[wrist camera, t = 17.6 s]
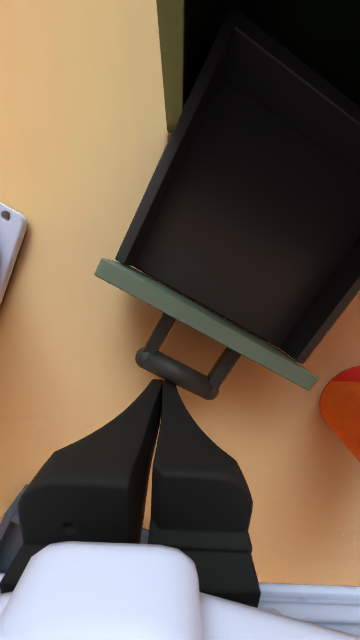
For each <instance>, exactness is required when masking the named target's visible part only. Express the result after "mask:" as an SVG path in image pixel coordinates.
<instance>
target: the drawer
mask: <svg viewBox="0 0 360 640" xmlns="http://www.w3.org/2000/svg"><path fill="white" fill-rule="evenodd" d="M115 259H116V260H117V261H119V262H117V261H113V260H108V259H104V258H101V260H100V263H99V265H98V267H97V270H96V272H95V276H97V277H99V278H101V279H103V280H104V281H106V282H108V283H110V284H112V285H114V286H116V287H117V288H119V289H121V290H123V291H125V292H127V293H128V294H130V295H132V296H134V297H136V298H138V299H140V300H141V301H143V302H145V303H147V304H149V305H151V306H153V307H154V308H156V309H158V310H160V311H162V312H164V313H163V315H162V316H161V318H160V320H159V322H158V324H157V326H156V327H155V329H154V331H153V333H152V335H151V337H150V338H149V340H148V342H147V344H146V346H145V347H142V348H140V349H139V350H138V351H137V353H136V356H135V360H136V363H137V365H138V366H139V367H141V368H143V369H145V370H147V371H149V372H151V373H153V374H155V375H157V376H159V377H161V378H163V379H165V380H167V381H169V382H171V383H173V384H175V385H177V386H179V387H181V388H183V389H185V390H187V391H190V392H192V393H194V394H196V395H198V396H200V397H202V398H204V399H206V400H212V399H214V398H215V397H216V396H217V395H218V393H219V387H220V385H221V384H222V382H223V381H224V379H225V378H226V376H227V375H228V373H229V372H230V371H231V369H232V368H233V366H234V365H235V363H236V362H237V360H238V359H239V357H240V356H241V355H243V356H245V357H247V358H249V359H251V360H253V361H254V362H256V363H258V364H260V365H262V366H264V367H265V368H267V369H269V370H271V371H273V372H275V373H277V374H278V375H280V376H282V377H284V378H286V379H288V380H290V381H291V382H293V383H295V384H297V385H299V386H301V387H303V388H304V389H306V390H308V391H309V390H310V389H311V388H312V387H313V386H314V384H315V383H316V382H317V381H318V379H319V378H318V377H317V376H315V375H314V374H313V373H311V372H310V371H309V370H307V369H306V368H304V367H303V366H302V365H300V364H299V363H298V362H300V363H302V364H303V363H304V362H305V361H306V359H307V358H308V357H309V356H310V354H311V353H312V352H313V350H314V349H315V348H316V346H317V345H318V344H319V343H320V341H321V340H322V339H323V337H324V336H325V335H326V333H327V332H328V331H329V330H330V328H331V327H332V326H333V324H334V323H335V322H336V320H337V319H338V318H339V316H340V315H341V314H342V313H343V311H344V310H345V309H346V307H347V306H348V305H349V303H350V302H351V301H352V300H353V298H354V297H355V296H356V294H357V293H358V292H359V290H360V106H359V105H357V104H356V103H355V102H353V101H352V100H351V99H350V98H348V97H347V96H346V95H345V94H343V93H342V92H341V91H340V90H338V89H337V88H336V87H335V86H333V85H332V84H331V83H329V82H328V81H327V80H326V79H324V78H323V77H322V76H321V75H319V74H318V73H317V72H316V71H314V70H313V69H312V68H311V67H309V66H308V65H307V64H305V63H304V62H303V61H302V60H300V59H299V58H298V57H297V56H295V55H294V54H293V53H292V52H290V51H289V50H288V49H287V48H285V47H284V46H283V45H281V44H280V43H279V42H278V41H276V40H275V39H274V38H273V37H271V36H270V35H269V34H268V33H266V32H265V31H264V30H262V29H261V28H260V27H259V26H257V25H256V24H255V23H254V22H252V21H251V20H250V19H249V18H247V17H246V16H245V15H244V14H242V13H241V12H240V11H238V10H237V9H236V8H235V7H233V6H232V5H231V6H230V7H229V10H228V12H227V14H226V16H225V18H224V21H223V23H222V25H221V27H220V29H219V32H218V34H217V36H216V38H215V40H214V43H213V45H212V47H211V49H210V51H209V54H208V56H207V58H206V60H205V62H204V65H203V67H202V69H201V71H200V73H199V76H198V78H197V80H196V82H195V84H194V87H193V89H192V91H191V93H190V95H189V97H188V100H187V102H186V104H185V106H184V108H183V111H182V113H181V115H180V117H179V119H178V122H177V124H176V126H175V128H174V130H173V133H172V135H171V137H170V139H169V141H168V144H167V146H166V148H165V150H164V152H163V155H162V157H161V159H160V161H159V163H158V166H157V168H156V170H155V172H154V174H153V177H152V179H151V181H150V183H149V185H148V188H147V190H146V192H145V194H144V196H143V199H142V201H141V203H140V205H139V207H138V209H137V212H136V214H135V216H134V218H133V220H132V223H131V225H130V227H129V229H128V231H127V234H126V236H125V238H124V240H123V242H122V245H121V247H120V249H119V251H118V253H117V256H116V258H115ZM129 265H130V266H129ZM131 266H133V267H135V268H137V269H139V270H141V271H142V272H144V273H146V274H148V275H150V276H151V277H153V278H155V279H157V280H158V281H160V282H162V283H164V284H166V285H167V286H169V287H171V288H173V289H174V290H176V291H178V292H180V293H182V294H183V295H185V296H187V297H189V298H191V299H192V300H194V301H196V302H198V303H199V304H201V305H203V306H205V307H207V308H208V309H210V310H212V311H214V312H216V313H217V314H219V315H221V316H223V317H224V318H226V319H228V320H230V321H232V322H233V323H235V324H237V325H239V326H241V327H242V328H244V329H246V330H248V331H249V332H251V333H253V334H255V335H257V336H258V337H260V338H262V339H264V340H266V341H267V342H269V343H271V344H273V345H274V346H276V347H278V348H280V349H281V350H282V351H284V352H285V353H286V354H285V353H284V352H282V351H281V350H279V349H277V348H276V347H274V346H272V345H270V344H269V343H267V342H265V341H263V340H261V339H260V338H258V337H256V336H254V335H252V334H251V333H249V332H247V331H245V330H244V329H242V328H240V327H238V326H236V325H235V324H233V323H231V322H229V321H227V320H226V319H224V318H222V317H220V316H219V315H217V314H215V313H213V312H211V311H210V310H208V309H206V308H204V307H202V306H201V305H199V304H197V303H195V302H193V301H192V300H190V299H188V298H186V297H185V296H183V295H181V294H179V293H177V292H176V291H174V290H172V289H170V288H168V287H167V286H165V285H163V284H161V283H160V282H158V281H156V280H154V279H152V278H151V277H149V276H147V275H145V274H143V273H142V272H140V271H138V270H136V269H134V268H133V267H131ZM176 319H177V320H178V321H180V322H182V323H184V324H186V325H188V326H190V327H191V328H193V329H195V330H197V331H199V332H201V333H203V334H204V335H206V336H208V337H210V338H212V339H214V340H216V341H217V342H219V343H221V344H223V345H225V346H227V347H226V348H225V350H224V351H223V353H222V354H221V356H220V358H219V359H218V361H217V362H216V364H215V365H214V367H213V368H212V370H211V371H210V373H209V374H208V376H206V375H204V374H202V373H200V372H198V371H196V370H194V369H192V368H190V367H188V366H186V365H184V364H183V363H181V362H179V361H177V360H175V359H173V358H171V357H169V356H167V355H165V354H163V353H161V352H159V351H158V350H159V348H160V346H161V345H162V343H163V341H164V339H165V338H166V336H167V334H168V332H169V330H170V329H171V327H172V325H173V323H174V322H175V320H176ZM287 354H288V355H289V356H291V357H292V358H293V359H295V360H296V361H298V362H296V361H295V360H293V359H292V358H291V357H289V356H288V355H287Z"/></svg>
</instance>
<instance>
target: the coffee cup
mask: <svg viewBox="0 0 360 640" xmlns="http://www.w3.org/2000/svg"><path fill="white" fill-rule="evenodd" d="M320 411H321V414H322V417H323V419H324V420H325V421H326V423H327V424H328V425H329V427H330V428H331V429H332V430H333V431H334V433H335V434H336V435H337V436H338V437H339V438H340V440H341V441H342V442H343V443H344V444H345V445H346V446H347V448H348V449H349V450H350V451H351V452H352V453H353V454H354V455H355V457H356V458H357V459H358V460H359V461H360V366H357V367H353V368H350V369H348V370H345V371H343V372H342V373H340V374H339V375H337V376H336V377H335V378H334V379H332V380H331V382H330V383H329V384H328V385H327V387H326V388H325V390H324V392H323V394H322V396H321V401H320Z"/></svg>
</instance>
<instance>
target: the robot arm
mask: <svg viewBox="0 0 360 640" xmlns="http://www.w3.org/2000/svg"><path fill="white" fill-rule="evenodd" d="M8 214H10V220H8V218H7V216H8ZM27 225H28V222H27V219H26V218H25V216H24V215H22V214H21V213H19V212H17V211H15V210H13V209H12V208H10V207H8V206H6V205H4V204H3V203H1V202H0V305H1V302H2V299H3V296H4V293H5V291H6V288H7V285H8V282H9V279H10V276H11V273H12V270H13V267H14V264H15V261H16V258H17V255H18V252H19V249H20V247H21V244H22V241H23V238H24V235H25V232H26V229H27ZM160 418H161V424H160ZM159 426H160V430H159ZM158 430H159V436H158V441H157V447H156V452H155V457H154V462H153V471H152V497H151V519H150V527H149V536H148V544H140V542H141V534H142V526H143V519H144V511H145V503H146V496H147V488H148V481H149V473H150V468H151V462H152V458H153V453H154V449H155V444H156V440H157V435H158ZM252 507H253V501H252V498H251V494H250V491H249V488H248V485H247V482H246V480H245V478H244V476H243V473H242V471H241V469H240V467H239V465H238V463H237V461H236V460H235V459H233V458H232V457H231V456H230V455H228V454H227V453H226V452H224V451H223V450H222V449H221V448H219V447H218V446H217V445H216V444H215V443H214V442H213V441H212V440H211V439H210V438H209V437H208V436H207V435H206V434H205V433H204V432H203V431H202V430H201V429H200V427H199V426H198V425H197V424H196V422H195V421H194V420H193V418H192V417H191V415H190V414H189V412H188V411H187V409H186V407H185V406H184V404H183V402H182V400H181V398H180V396H179V393H178V391H177V388H176V385H175V384H173V383H171V382H169V381H167V380H164V381H163V380H159V379H153V380H152V381H151V382H150V383H149V385H148V386H147V387H146V389H145V390H144V391H143V392H142V393H141V394H140V396H139V397H138V398H137V399H136V400H135V401H134V402H133V403H132V404H131V405H130V406H129V407H128V408H127V409H126V410H124V411H123V412H122V413H121V414H120V415H118V416H117V417H116V418H115V419H113V420H112V421H110V422H109V423H107V424H106V425H105V426H103V427H102V428H100V429H98V430H97V431H95V432H93V433H92V434H90V435H88V436H86V437H85V438H83V439H81V440H79V441H77V442H75V443H73V444H70V445H68V446H66V447H64V448H62V449H60V450H58V451H55V452H54V453H53V454H52V455H51V457H50V458H49V459H48V460H47V461H46V463H45V464H44V465H43V466H42V468H41V469H40V470H39V472H38V473H37V474H36V476H35V477H34V479H33V480H32V481H31V483H30V484H29V486H28V487H27V488H26V490H25V491H24V492H23V494H22V495H21V497H20V500H19V502H18V517H19V522H20V528H21V533H22V539H23V544H22V546H21V547H20V549H19V551H18V553H17V554H16V556H15V558H14V559H13V561H12V563H11V565H10V566H9V568H8V570H7V571H6V573H5V574H3V573H0V640H360V586H334V585H306V584H279V583H258V579H257V575H256V571H255V567H254V564H253V560H252V556H251V553H252V544H251V541H250V537H249V533H248V528H249V524H250V519H251V514H252Z"/></svg>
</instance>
